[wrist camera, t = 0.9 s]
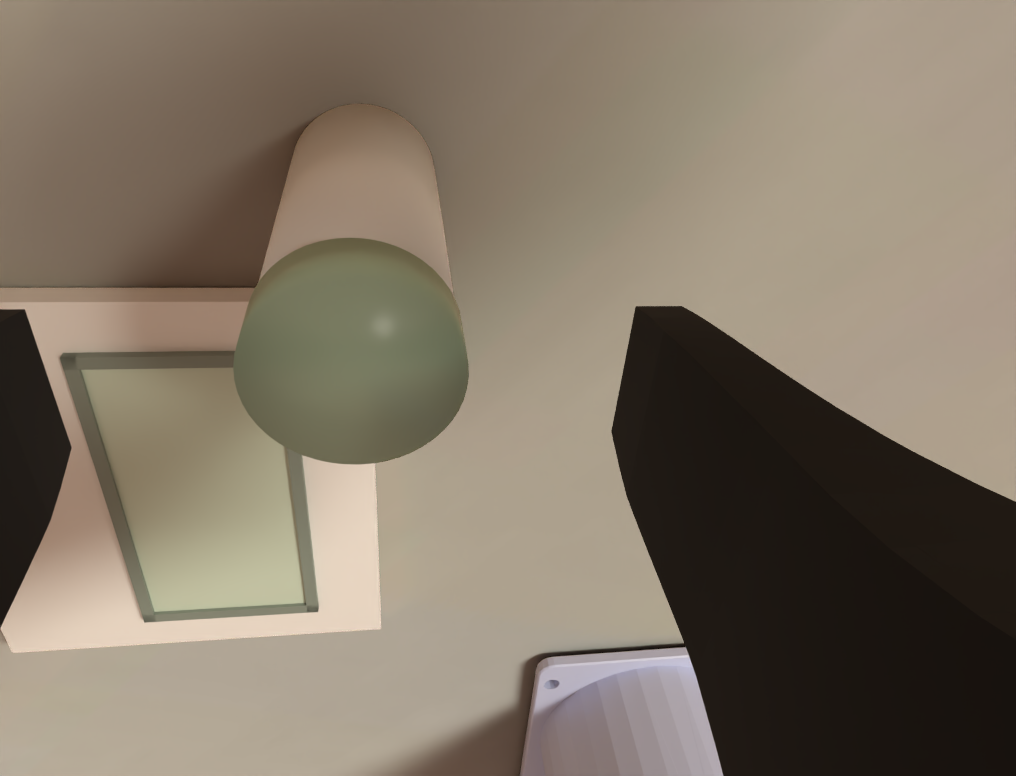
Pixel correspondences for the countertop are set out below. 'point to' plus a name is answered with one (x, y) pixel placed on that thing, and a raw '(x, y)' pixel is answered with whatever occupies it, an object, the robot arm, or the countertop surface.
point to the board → (181, 488)
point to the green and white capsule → (355, 298)
